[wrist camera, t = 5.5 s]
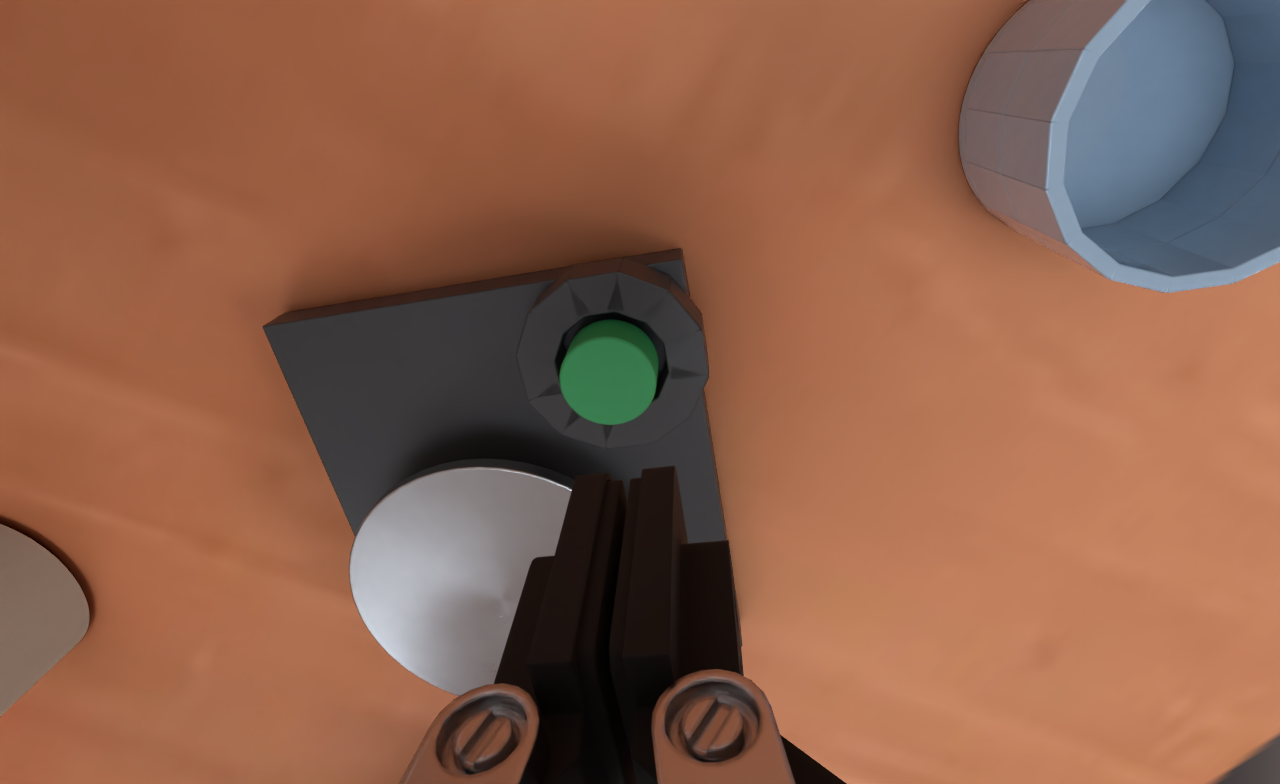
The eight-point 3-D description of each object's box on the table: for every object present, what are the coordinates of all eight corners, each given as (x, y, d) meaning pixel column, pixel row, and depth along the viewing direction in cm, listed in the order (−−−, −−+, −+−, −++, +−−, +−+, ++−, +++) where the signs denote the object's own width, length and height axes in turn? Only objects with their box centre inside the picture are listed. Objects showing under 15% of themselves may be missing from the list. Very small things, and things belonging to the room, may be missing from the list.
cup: (959, -8, 18) (1060, -34, 13) (1256, -68, 17) (1484, -121, 12) (955, 254, 21) (1036, 312, 16) (1207, 215, 20) (1374, 264, 15)
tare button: (558, 325, 20) (548, 344, 19) (650, 311, 20) (647, 330, 19) (578, 408, 21) (570, 431, 20) (665, 396, 21) (664, 419, 20)
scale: (279, 302, 23) (227, 333, 21) (691, 235, 21) (691, 259, 19) (426, 648, 30) (400, 705, 28) (748, 620, 28) (754, 679, 26)
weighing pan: (308, 478, 23) (299, 488, 22) (627, 438, 21) (625, 448, 21) (412, 704, 28) (406, 717, 27) (680, 684, 26) (680, 698, 25)
